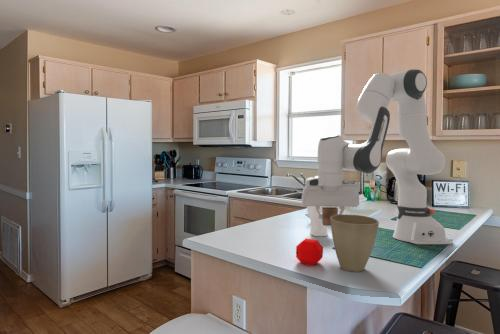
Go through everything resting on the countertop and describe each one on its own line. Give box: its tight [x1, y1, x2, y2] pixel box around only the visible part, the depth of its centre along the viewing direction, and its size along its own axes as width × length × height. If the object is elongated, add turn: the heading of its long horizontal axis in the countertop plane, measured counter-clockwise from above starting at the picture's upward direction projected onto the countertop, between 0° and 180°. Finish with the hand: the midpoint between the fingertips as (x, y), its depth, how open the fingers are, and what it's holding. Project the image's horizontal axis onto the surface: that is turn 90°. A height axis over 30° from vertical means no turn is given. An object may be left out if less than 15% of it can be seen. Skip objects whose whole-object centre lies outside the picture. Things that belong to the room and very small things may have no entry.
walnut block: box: [322, 206, 339, 227], centre depth 125 cm, size 5×5×6 cm
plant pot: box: [330, 214, 380, 273], centre depth 111 cm, size 15×15×16 cm
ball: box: [295, 238, 324, 266], centre depth 116 cm, size 8×8×8 cm
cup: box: [306, 206, 329, 237], centre depth 154 cm, size 11×11×15 cm
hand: (329, 218), depth 125 cm, fingers closed on walnut block, 5 cm apart
